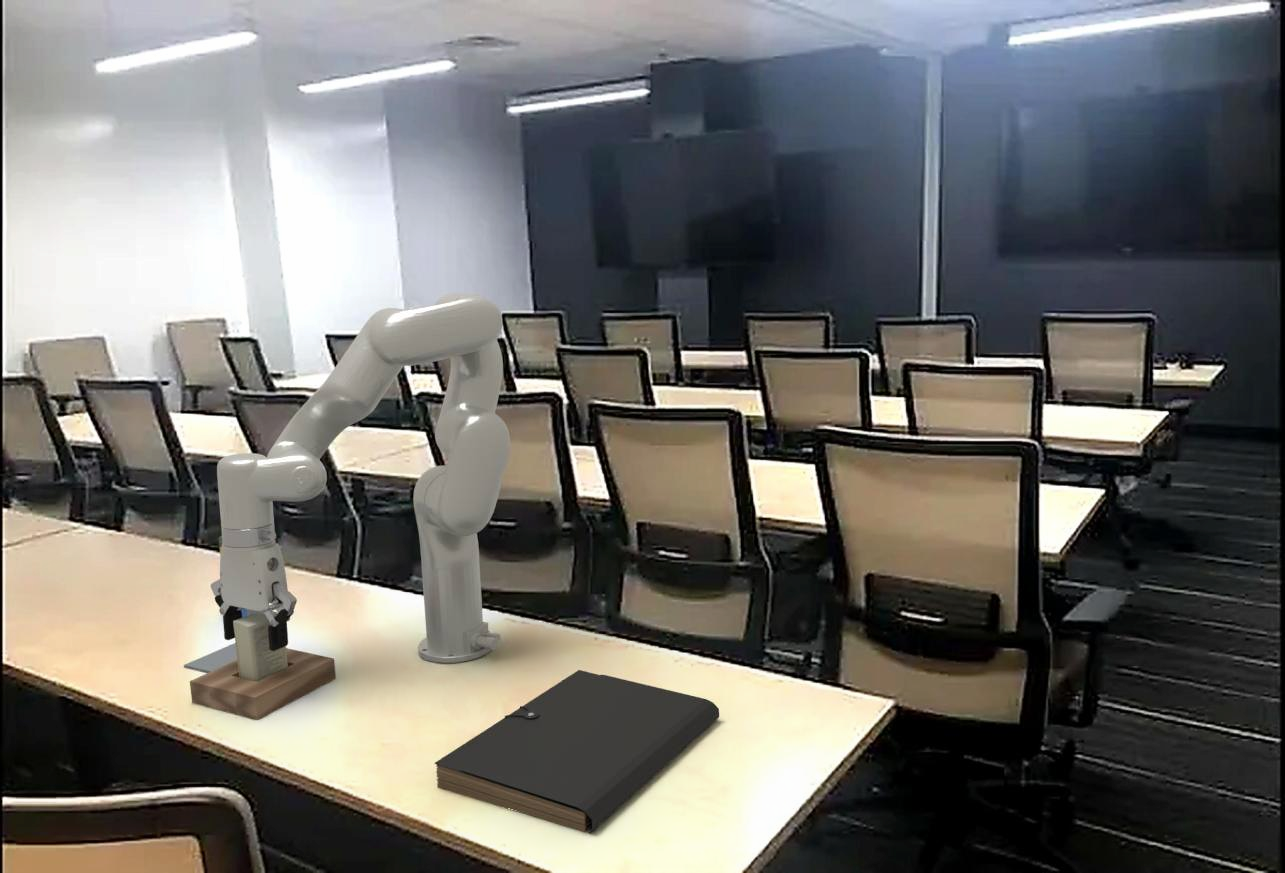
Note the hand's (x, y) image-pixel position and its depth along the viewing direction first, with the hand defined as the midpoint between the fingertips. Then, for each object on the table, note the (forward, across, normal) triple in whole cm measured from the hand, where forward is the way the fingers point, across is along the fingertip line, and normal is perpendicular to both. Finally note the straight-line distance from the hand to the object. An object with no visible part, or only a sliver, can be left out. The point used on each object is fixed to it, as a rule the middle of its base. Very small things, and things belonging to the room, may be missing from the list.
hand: (256, 642), depth 164 cm
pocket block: (+8, 0, -1) cm, 8 cm away
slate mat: (+8, +14, -8) cm, 18 cm away
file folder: (+8, -56, -5) cm, 57 cm away
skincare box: (+8, 0, -1) cm, 8 cm away
